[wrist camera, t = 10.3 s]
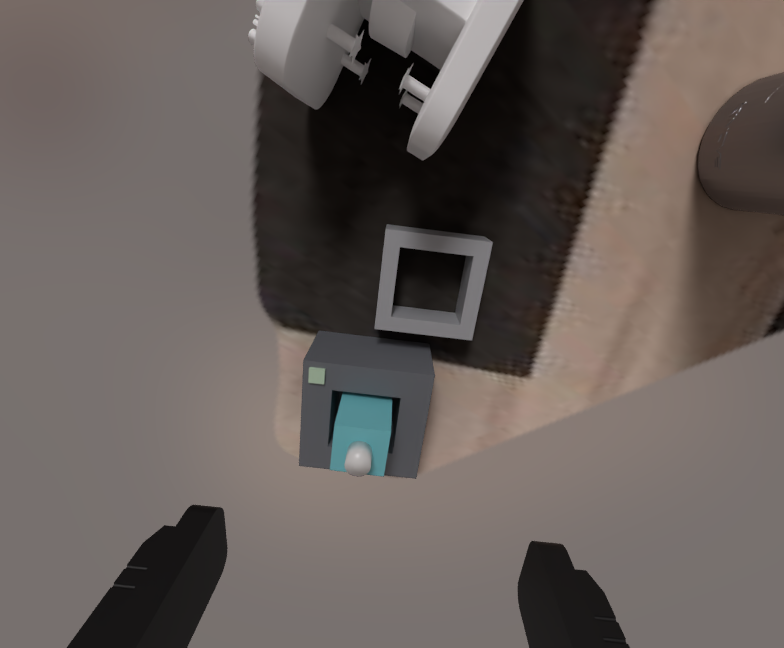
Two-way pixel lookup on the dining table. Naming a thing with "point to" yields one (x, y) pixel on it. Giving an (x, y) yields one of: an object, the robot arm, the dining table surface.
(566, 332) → the dining table surface
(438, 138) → the cable organizer
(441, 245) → the grey square hollow frame
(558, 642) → the robot arm
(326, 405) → the port
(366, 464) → the plug
